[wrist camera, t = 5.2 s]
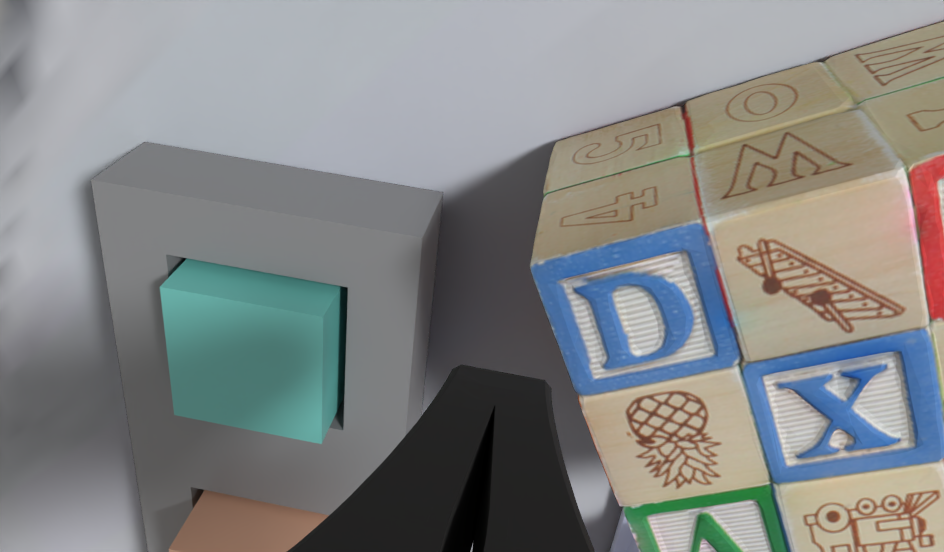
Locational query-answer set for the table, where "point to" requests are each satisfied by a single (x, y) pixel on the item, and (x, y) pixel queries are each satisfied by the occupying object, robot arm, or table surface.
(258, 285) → the teal button
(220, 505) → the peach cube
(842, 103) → the stack of blocks
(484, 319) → the table surface
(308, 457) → the button panel
